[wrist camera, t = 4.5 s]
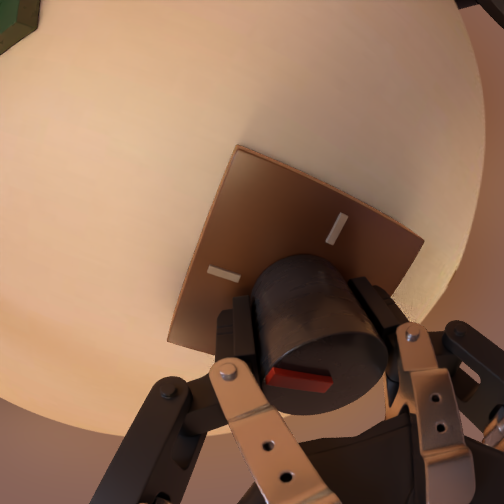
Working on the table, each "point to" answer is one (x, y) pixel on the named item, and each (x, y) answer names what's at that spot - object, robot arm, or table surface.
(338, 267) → the panel
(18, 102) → the table surface
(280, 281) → the knob
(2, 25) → the button box
